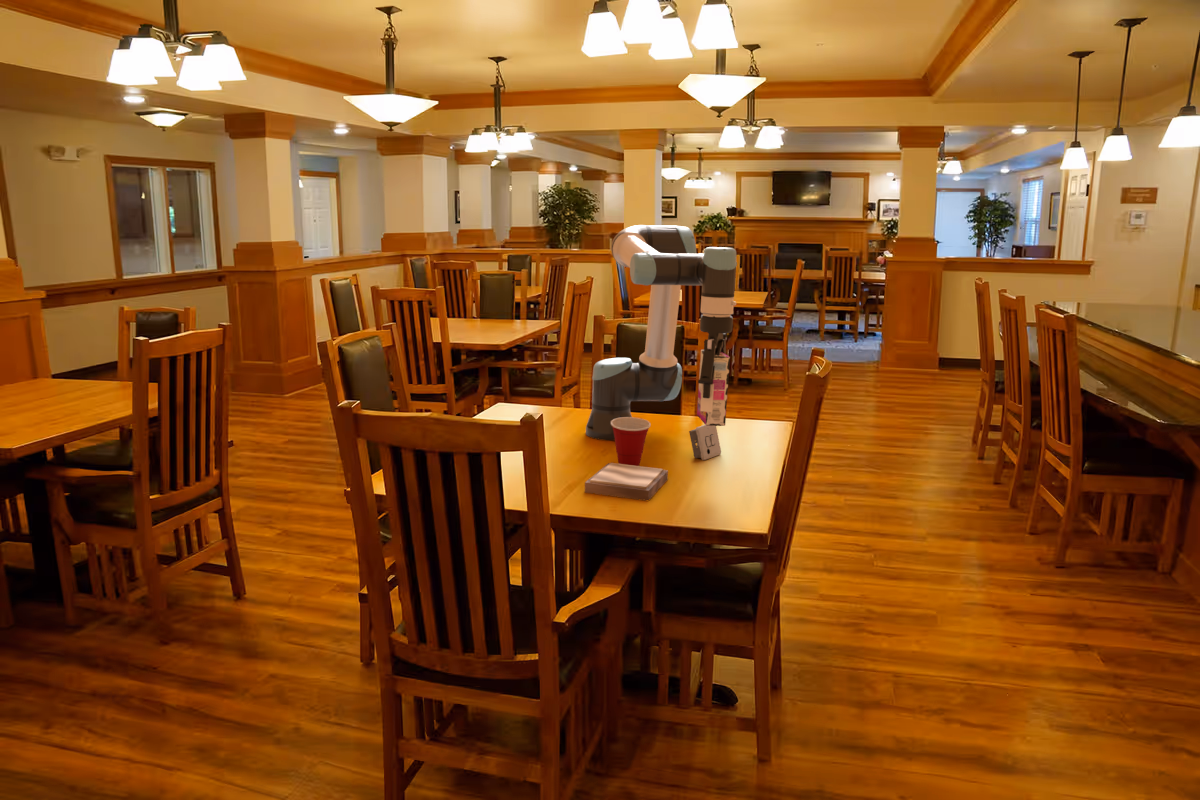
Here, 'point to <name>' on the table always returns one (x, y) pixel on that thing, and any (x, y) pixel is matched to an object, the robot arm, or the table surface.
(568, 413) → the table surface
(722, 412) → the candy bar box
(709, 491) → the table surface
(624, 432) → the plastic cup
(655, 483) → the pale flat square slab
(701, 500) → the table surface
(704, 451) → the electrical switch
